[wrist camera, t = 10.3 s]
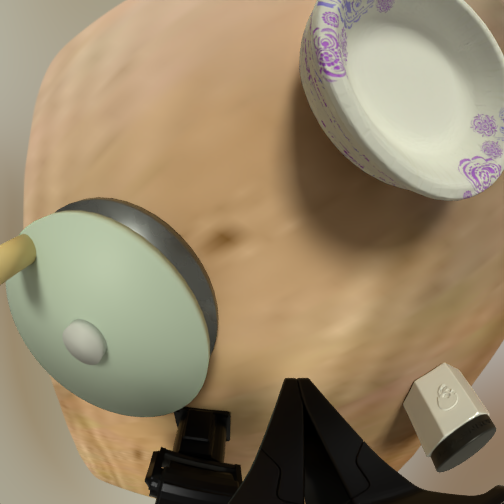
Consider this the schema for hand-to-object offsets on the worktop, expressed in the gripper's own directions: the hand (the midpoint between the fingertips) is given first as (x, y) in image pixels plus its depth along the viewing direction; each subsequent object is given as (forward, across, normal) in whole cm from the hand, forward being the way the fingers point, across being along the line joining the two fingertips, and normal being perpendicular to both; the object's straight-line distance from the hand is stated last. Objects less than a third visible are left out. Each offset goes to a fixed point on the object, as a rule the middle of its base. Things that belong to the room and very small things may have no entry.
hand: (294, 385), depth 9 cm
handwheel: (+9, +14, +6) cm, 18 cm away
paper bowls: (+13, -8, -14) cm, 21 cm away
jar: (+13, -23, +17) cm, 32 cm away
